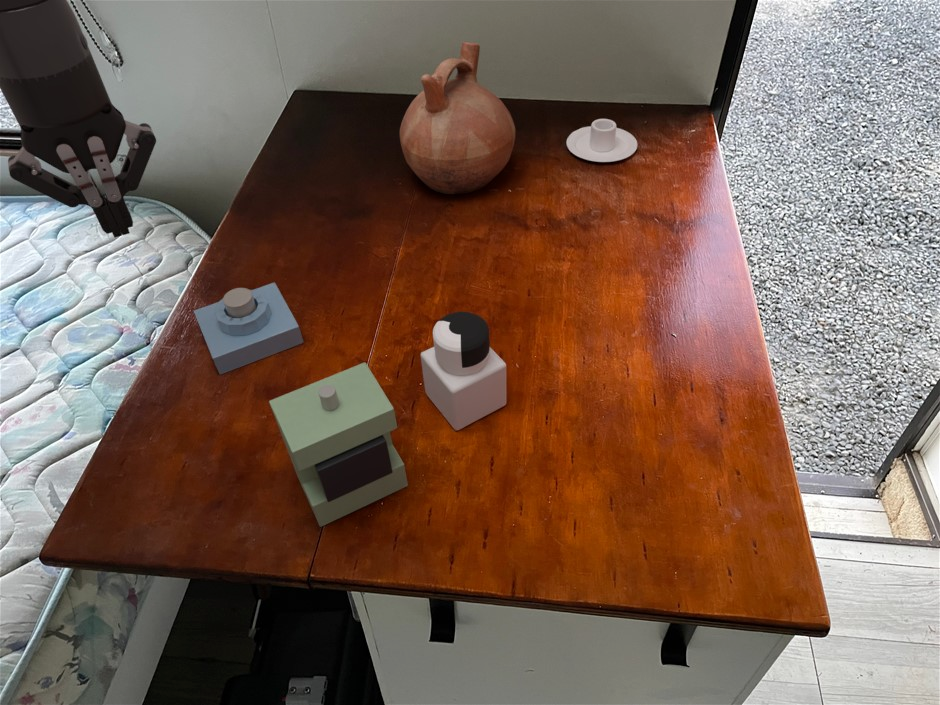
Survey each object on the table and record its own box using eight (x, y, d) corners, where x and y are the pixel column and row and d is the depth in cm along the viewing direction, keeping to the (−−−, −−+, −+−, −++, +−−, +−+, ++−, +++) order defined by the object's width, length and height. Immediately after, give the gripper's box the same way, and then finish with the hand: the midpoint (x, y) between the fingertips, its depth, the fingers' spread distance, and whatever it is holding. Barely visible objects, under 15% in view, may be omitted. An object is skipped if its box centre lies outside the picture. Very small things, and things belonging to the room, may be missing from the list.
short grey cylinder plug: (231, 322, 88) (227, 310, 86) (224, 305, 90) (219, 293, 89) (259, 312, 89) (255, 300, 87) (251, 296, 91) (247, 283, 90)
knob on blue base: (219, 375, 88) (207, 347, 84) (200, 327, 94) (188, 299, 91) (303, 342, 91) (295, 314, 88) (279, 298, 98) (271, 270, 94)
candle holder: (564, 130, 126) (565, 107, 123) (632, 128, 125) (635, 105, 122) (568, 166, 118) (569, 142, 115) (641, 165, 117) (644, 141, 114)
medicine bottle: (474, 368, 87) (470, 295, 78) (507, 405, 83) (507, 332, 74) (424, 393, 85) (414, 320, 76) (455, 433, 80) (449, 360, 72)
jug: (477, 220, 108) (472, 95, 94) (382, 189, 115) (364, 68, 101) (534, 163, 119) (537, 43, 105) (444, 137, 126) (435, 22, 112)
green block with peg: (320, 527, 73) (287, 439, 62) (297, 477, 77) (263, 386, 66) (408, 486, 76) (391, 394, 65) (382, 440, 80) (362, 347, 69)
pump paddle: (328, 502, 70) (317, 471, 66) (324, 495, 70) (313, 463, 66) (393, 472, 72) (386, 440, 68) (389, 465, 72) (382, 433, 68)
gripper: (116, 23, 62) (180, 194, 74) (-51, 57, 58) (45, 232, 70) (131, 53, 57) (196, 230, 70) (-51, 92, 53) (53, 273, 65)
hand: (120, 231), depth 70 cm, fingers closed
